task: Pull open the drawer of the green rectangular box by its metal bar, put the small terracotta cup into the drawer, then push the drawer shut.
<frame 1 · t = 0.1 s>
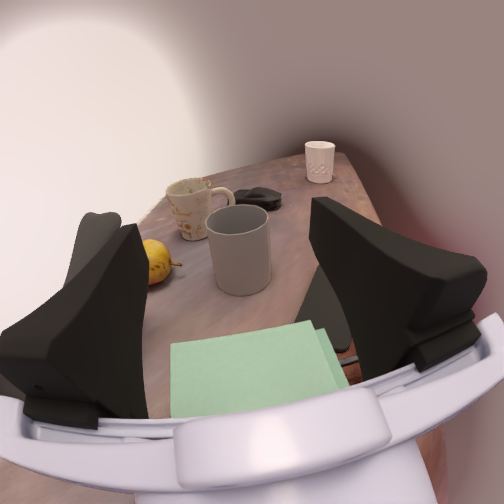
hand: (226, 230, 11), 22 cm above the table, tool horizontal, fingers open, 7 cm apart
drawer: (299, 400, 22), point 4 cm above the table, slide at 0.0 cm
green rectangular box: (258, 424, 23), on the table
cup: (243, 277, 43), on the table
white cup: (319, 180, 73), on the table
sculpture: (105, 398, 26), on the table
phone: (331, 305, 36), on the table
mug: (207, 230, 55), on the table
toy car: (254, 205, 63), on the table
fruit: (156, 279, 44), on the table
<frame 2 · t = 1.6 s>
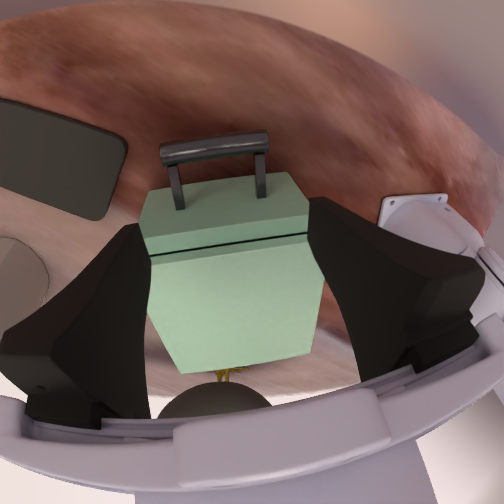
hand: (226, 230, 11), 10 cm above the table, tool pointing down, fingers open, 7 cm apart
drawer: (226, 244, 20), point 4 cm above the table, slide at 0.0 cm
green rectangular box: (226, 252, 25), on the table
cup: (18, 268, 22), on the table
sculpture: (207, 355, 36), on the table
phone: (39, 153, 16), on the table
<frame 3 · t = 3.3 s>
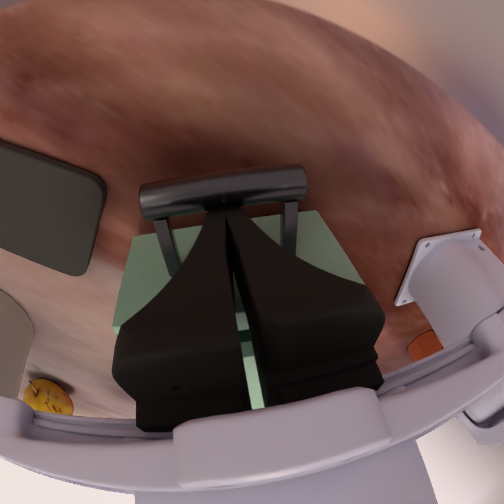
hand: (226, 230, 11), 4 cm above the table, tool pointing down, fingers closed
drawer: (238, 309, 15), point 4 cm above the table, slide at 0.6 cm
small cup: (420, 341, 33), on the table
green rectangular box: (236, 306, 21), on the table
cup: (1, 312, 18), on the table
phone: (2, 194, 12), on the table
fruit: (52, 382, 26), on the table
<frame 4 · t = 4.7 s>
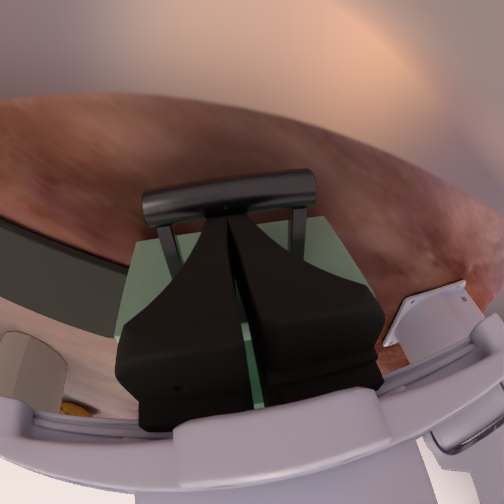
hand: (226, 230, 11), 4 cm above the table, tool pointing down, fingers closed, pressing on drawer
drawer: (243, 317, 14), point 4 cm above the table, slide at 6.8 cm, touching gripper
cup: (34, 354, 21), on the table
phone: (39, 272, 15), on the table
fruit: (77, 405, 30), on the table
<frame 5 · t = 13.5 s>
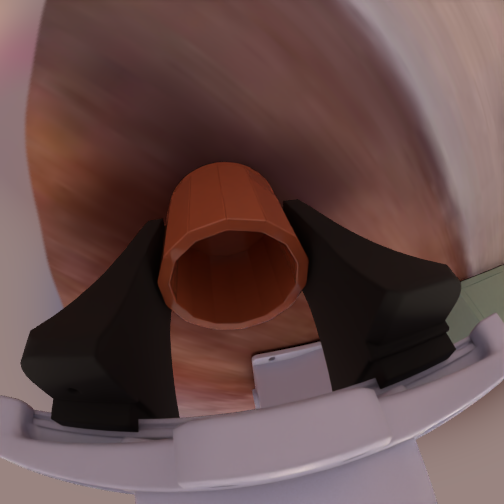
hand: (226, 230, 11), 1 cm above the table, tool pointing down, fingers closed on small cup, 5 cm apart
small cup: (222, 212, 12), on the table, touching gripper
green rectangular box: (461, 312, 25), on the table
when the fingers open (6 cm above the table, at t = 19.9 s): small cup drops 3 cm, resting on drawer.
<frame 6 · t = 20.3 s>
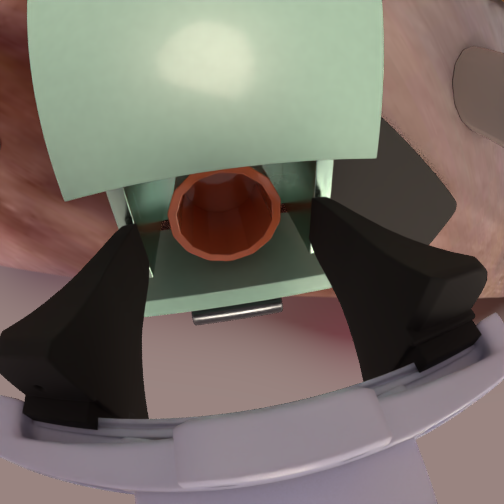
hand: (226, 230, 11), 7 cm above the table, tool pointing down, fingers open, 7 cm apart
drawer: (223, 213, 14), point 4 cm above the table, slide at 6.4 cm, touching small cup
small cup: (218, 176, 15), point 2 cm above the table, touching drawer
green rectangular box: (202, 23, 11), on the table
cup: (477, 88, 15), on the table
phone: (395, 193, 20), on the table
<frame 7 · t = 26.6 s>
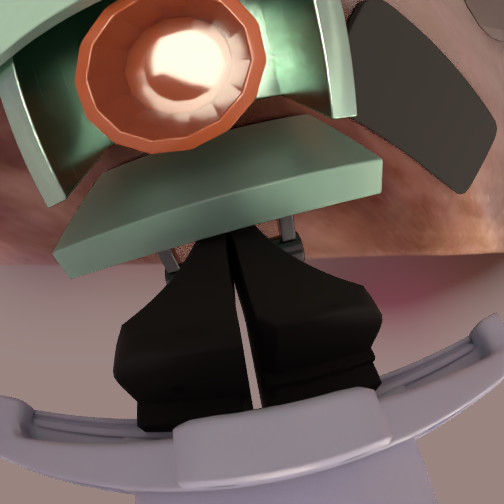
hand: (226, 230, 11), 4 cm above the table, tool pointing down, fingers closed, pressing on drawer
drawer: (183, 97, 8), point 4 cm above the table, slide at 5.8 cm, touching gripper, small cup
small cup: (178, 64, 9), point 2 cm above the table, touching drawer
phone: (427, 107, 13), on the table
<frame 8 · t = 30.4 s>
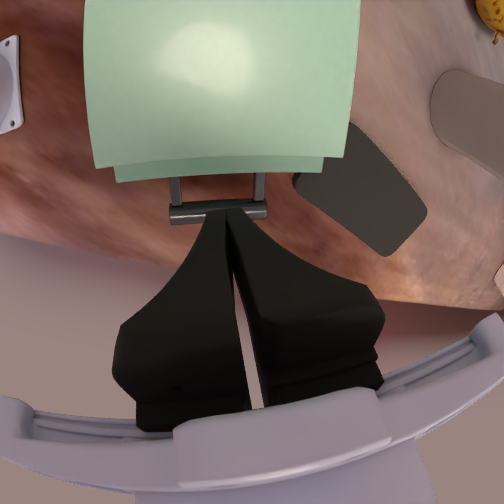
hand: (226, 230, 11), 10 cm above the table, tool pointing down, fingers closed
drawer: (216, 94, 13), point 4 cm above the table, slide at 0.0 cm, touching green rectangular box, small cup
green rectangular box: (215, 36, 14), on the table
cup: (455, 108, 19), on the table
white cup: (502, 269, 41), on the table
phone: (369, 196, 24), on the table
fruit: (479, 7, 11), on the table
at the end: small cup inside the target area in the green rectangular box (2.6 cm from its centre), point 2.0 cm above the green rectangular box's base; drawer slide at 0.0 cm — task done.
